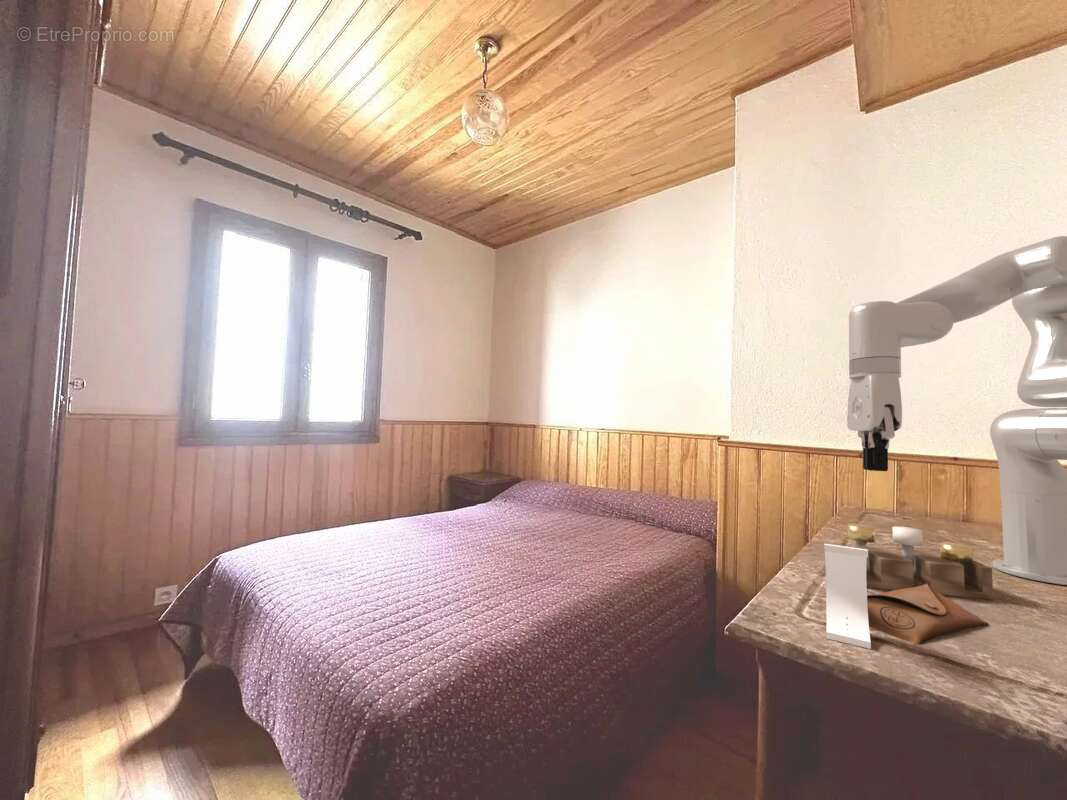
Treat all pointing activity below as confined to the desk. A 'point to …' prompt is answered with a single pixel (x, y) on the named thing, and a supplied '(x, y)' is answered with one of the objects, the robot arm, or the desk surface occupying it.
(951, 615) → the sunglasses case
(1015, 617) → the desk surface
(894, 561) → the tan mount
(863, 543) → the brass knob
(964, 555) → the brass knob
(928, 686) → the desk surface
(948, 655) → the desk surface
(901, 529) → the white knob
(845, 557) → the headphone stand
